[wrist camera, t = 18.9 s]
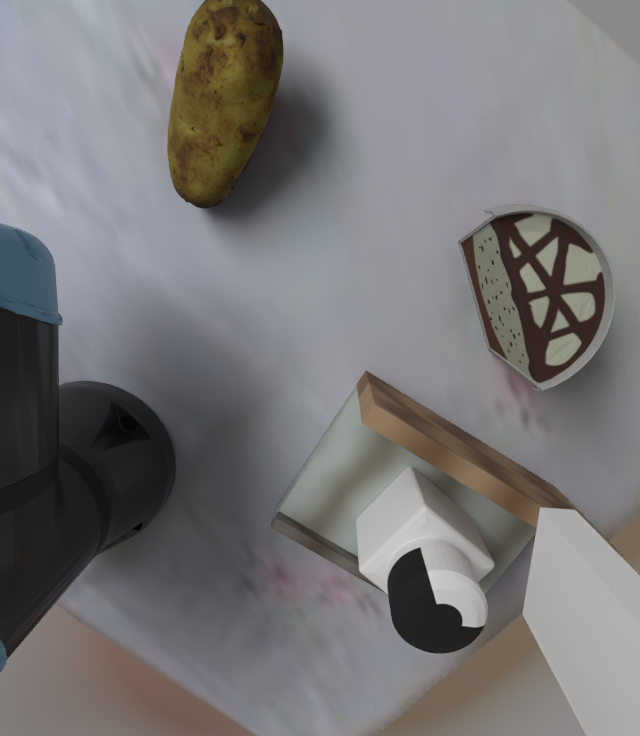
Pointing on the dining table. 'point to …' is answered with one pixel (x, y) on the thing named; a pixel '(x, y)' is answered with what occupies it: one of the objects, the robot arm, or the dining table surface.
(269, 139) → the dining table surface
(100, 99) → the dining table surface
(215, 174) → the potato
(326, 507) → the wall board
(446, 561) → the medicine bottle
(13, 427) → the robot arm
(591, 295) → the food container
